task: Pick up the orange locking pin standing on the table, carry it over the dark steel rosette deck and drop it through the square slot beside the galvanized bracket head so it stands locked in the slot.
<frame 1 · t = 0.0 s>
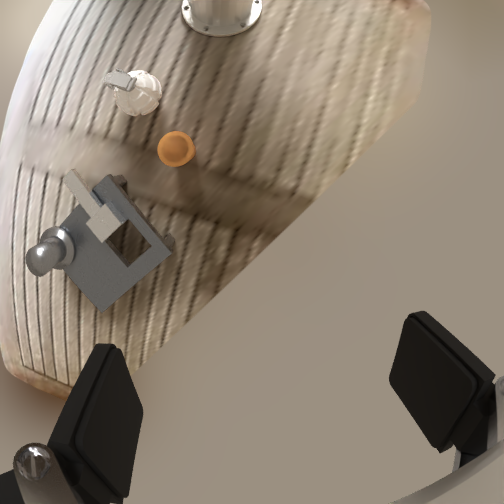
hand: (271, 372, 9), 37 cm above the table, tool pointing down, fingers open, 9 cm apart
hand grenade: (143, 98, 37), on the table
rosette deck: (120, 232, 43), on the table
pin: (185, 151, 41), on the table
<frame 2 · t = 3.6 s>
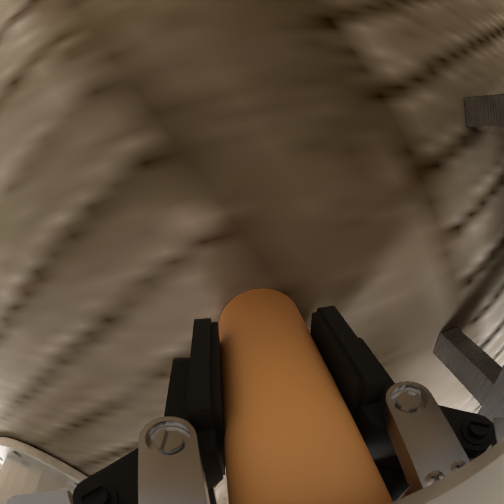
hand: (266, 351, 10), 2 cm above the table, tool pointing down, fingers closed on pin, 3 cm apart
pin: (259, 325, 11), on the table, touching gripper
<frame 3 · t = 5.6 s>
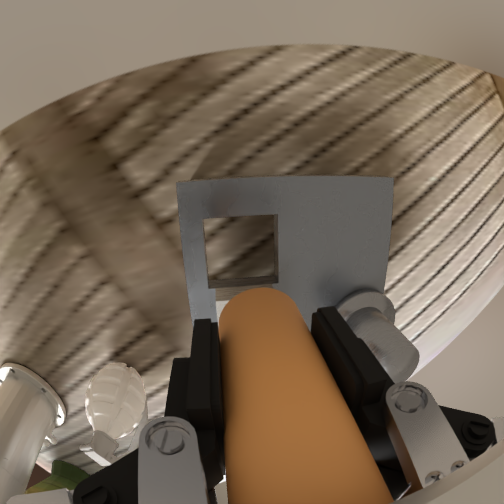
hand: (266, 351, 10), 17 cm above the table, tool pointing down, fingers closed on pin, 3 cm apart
hand grenade: (129, 372, 30), on the table
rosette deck: (264, 249, 27), on the table
vase: (72, 471, 37), on the table
pin: (259, 324, 11), point 16 cm above the table, touching gripper
when the fingers open (7 cm above the table, at t = 7.7 s): pin drops 5 cm, on the table.
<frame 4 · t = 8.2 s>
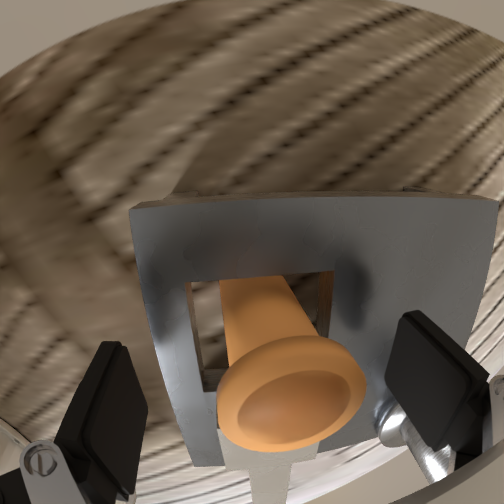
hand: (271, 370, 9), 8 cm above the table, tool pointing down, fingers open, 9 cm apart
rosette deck: (289, 300, 17), on the table
pin: (247, 273, 16), on the table
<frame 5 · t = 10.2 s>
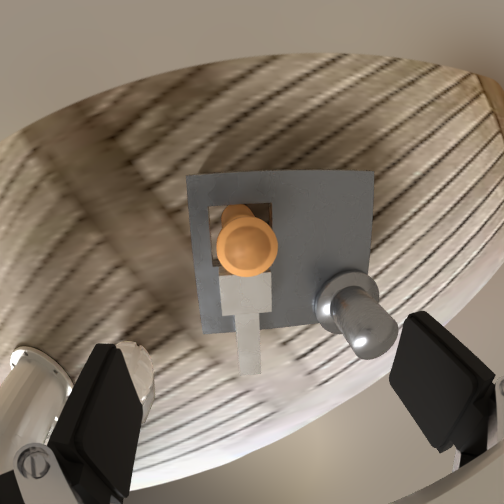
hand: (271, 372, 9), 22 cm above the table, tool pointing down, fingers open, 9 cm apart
hand grenade: (138, 351, 34), on the table
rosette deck: (262, 236, 30), on the table
pin: (237, 218, 29), on the table
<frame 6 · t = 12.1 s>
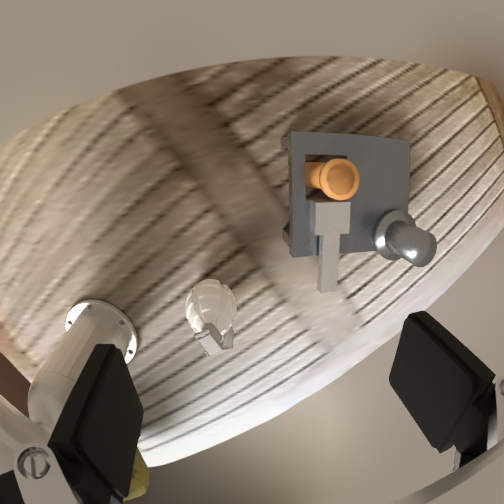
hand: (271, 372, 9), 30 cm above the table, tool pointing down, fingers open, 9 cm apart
hand grenade: (214, 293, 41), on the table
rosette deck: (327, 188, 38), on the table
vase: (119, 427, 48), on the table
pin: (309, 173, 37), on the table
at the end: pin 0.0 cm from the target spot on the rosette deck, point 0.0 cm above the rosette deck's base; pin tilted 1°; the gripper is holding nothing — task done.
